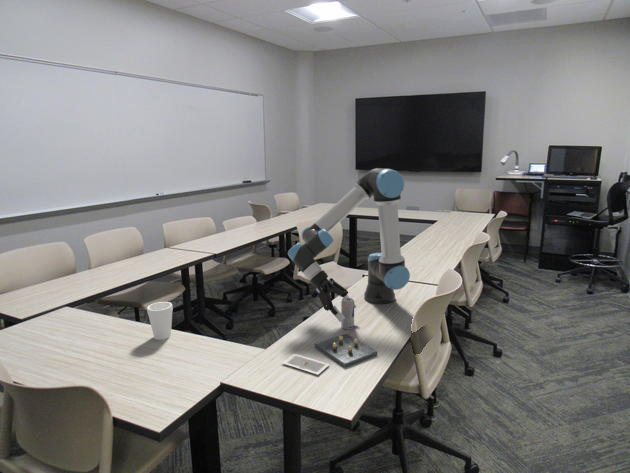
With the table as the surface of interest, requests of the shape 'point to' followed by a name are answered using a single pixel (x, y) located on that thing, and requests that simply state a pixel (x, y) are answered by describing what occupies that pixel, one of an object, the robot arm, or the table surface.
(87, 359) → the table surface
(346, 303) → the energy drink
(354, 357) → the standoff plate
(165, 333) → the foam cup
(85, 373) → the table surface
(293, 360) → the touchpad
